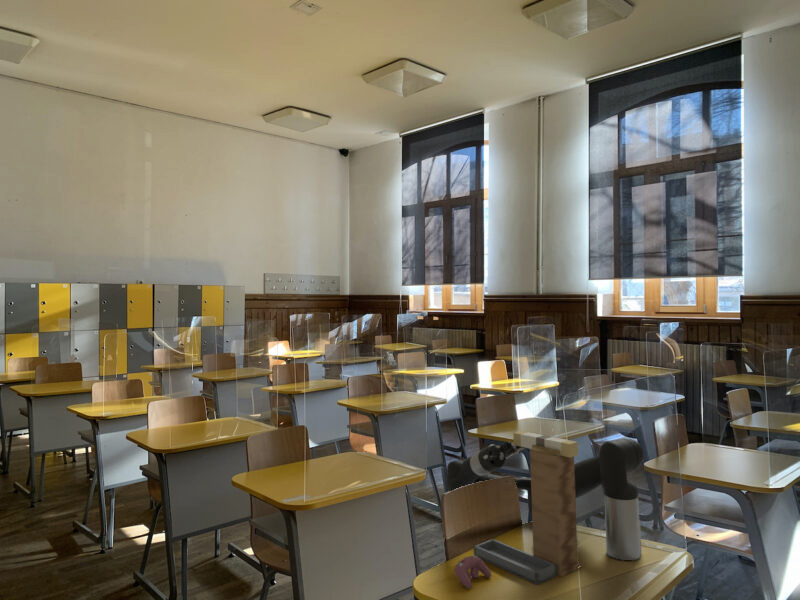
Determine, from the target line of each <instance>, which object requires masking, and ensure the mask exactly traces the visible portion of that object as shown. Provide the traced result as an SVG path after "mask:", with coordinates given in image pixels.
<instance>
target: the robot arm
mask: <svg viewBox="0 0 800 600" xmlns="http://www.w3.org/2000/svg"><path fill="white" fill-rule="evenodd" d="M527 449H528V448H525V447H521V446H516V445H514V441H512V442H511V441H507V442H505V443H503V444H501V445H497V444H492V443H491V444H488V445H487V446H485V447H484V448H482V449H480V450H479V451H476V452H475V453H474V454H473V455H471V456H470V457H468V458H466V459H464V460H463V461H462V460H458V459H457V460H452V461H450V462H449V463H448V464H447V466H446V483H445V484H446V488H447V490H448V491H449V492H450V491H452V490H454V489H456V488H459V487H461V486H465V485H468V484H472V483H476V482H479V481H485V480H490V479H494V478H500V479H501V477H504V476H501V475H496V474H492V473H493V472H495V471H497V470H499V469H501V468H503V467H504V465H505V463H506V459H509V458H510V457H511V456H514V455H517V454H519V452H522V451H524V450H527ZM643 460H644V450H643V446H642V445H641V444H640V443H639V442H638V441H636V440H634V439H632V438H624V437H623V438H618V439H612V440H609V441H606V442H603V443H602V445H601V446H600V448H599V453H598V455H597V456H596V455H595V456H592V457H590V458H585V459H584V460H581V461H578V462H575V463H574V469H575V497H576V499H578V498H580V497H582V496H584V495H587V494H588V493H591V492H592V491H593V490H595V489H597V488H598V487H600V486H601V485H602V488H603V491H604V493H603V494H604V516H605V517H604V519H605V522H604V523H605V546H606V547H605V548H606V554H607V555H608V557H610V556H611V558H612V557H613V558H612V559H614V558H617V559H616V560H618V559H621V560H620V561H624V560H632V561H637V560H639V559H640V558H641V554H642V535H641V533H642V532H641V529H642V528H641V520H640V513H639V511H640V510H639V509H640V508H639V488H638V487H637V485H636V484H634V483H632V482H629V481H628V475H627V473H628V472H630V471H633V470H636V469H637V468H639V467H640V466H641V464H642V462H643ZM514 478H515V479H516V480H517V481H516V480H515V482H517V483H516V485H517V487H518V489H517V490H525V491H527V493H526V494H527V507H528V511H529V512H530V514H531V515H532V497H531V478H522V477H514ZM506 482H508V481H506Z"/></svg>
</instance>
